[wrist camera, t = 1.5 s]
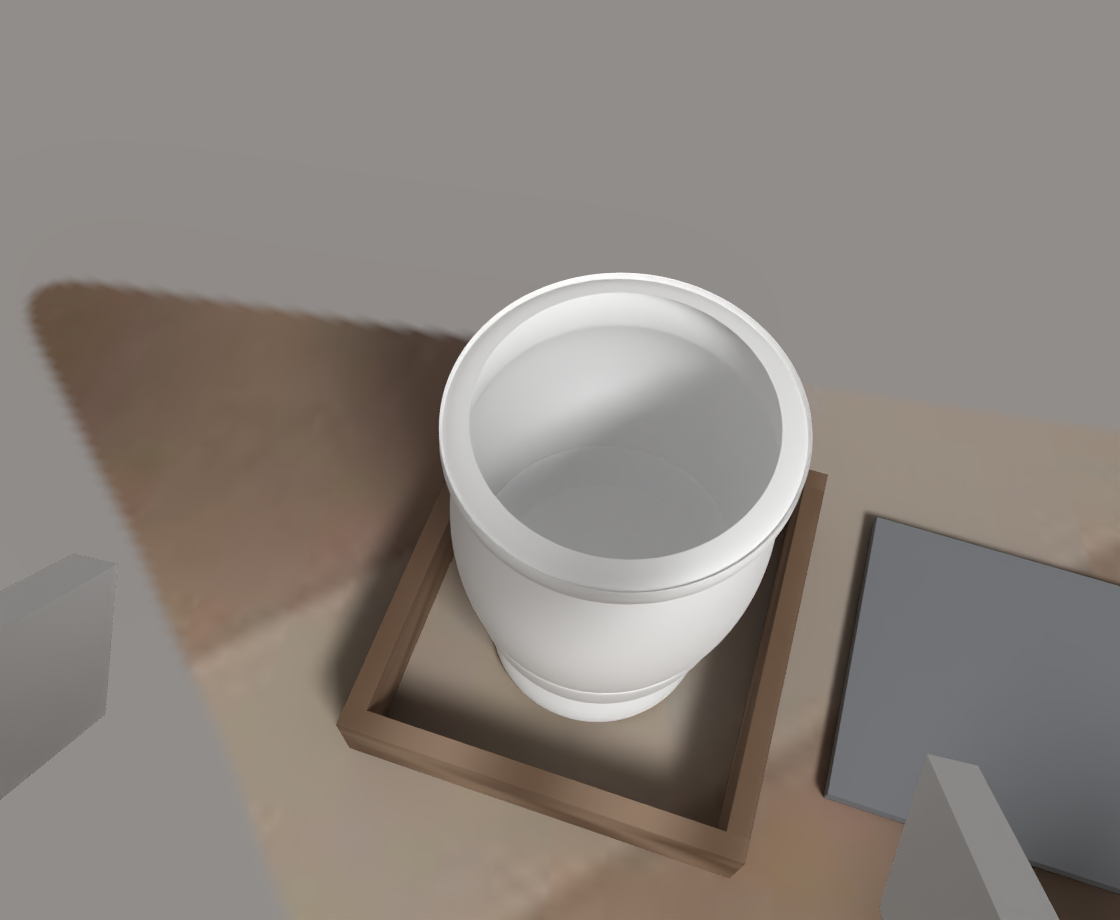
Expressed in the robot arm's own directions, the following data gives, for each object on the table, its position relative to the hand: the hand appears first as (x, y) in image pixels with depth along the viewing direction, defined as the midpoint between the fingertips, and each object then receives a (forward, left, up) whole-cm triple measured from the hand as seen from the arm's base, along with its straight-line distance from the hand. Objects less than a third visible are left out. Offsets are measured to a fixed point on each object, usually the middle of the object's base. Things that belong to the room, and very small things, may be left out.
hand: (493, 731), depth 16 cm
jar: (0, -11, -22) cm, 25 cm away
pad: (-16, -13, -22) cm, 30 cm away
